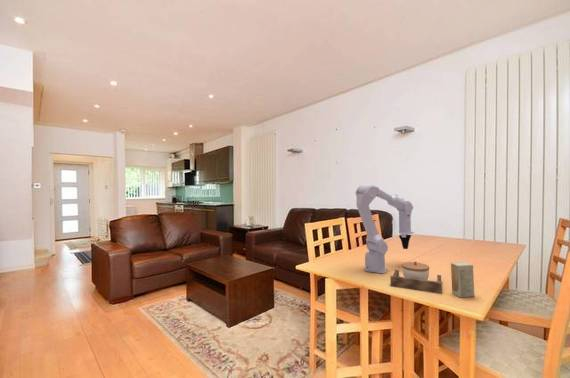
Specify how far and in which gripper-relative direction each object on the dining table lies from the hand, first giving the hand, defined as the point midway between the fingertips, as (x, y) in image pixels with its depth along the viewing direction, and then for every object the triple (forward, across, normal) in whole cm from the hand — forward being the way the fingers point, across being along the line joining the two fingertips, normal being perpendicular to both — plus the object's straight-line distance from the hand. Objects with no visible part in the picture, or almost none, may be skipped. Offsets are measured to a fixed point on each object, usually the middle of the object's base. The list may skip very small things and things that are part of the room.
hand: (405, 248), depth 141 cm
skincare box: (+10, -31, -23) cm, 40 cm away
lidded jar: (+10, -24, -6) cm, 27 cm away
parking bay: (+9, -25, -6) cm, 27 cm away
